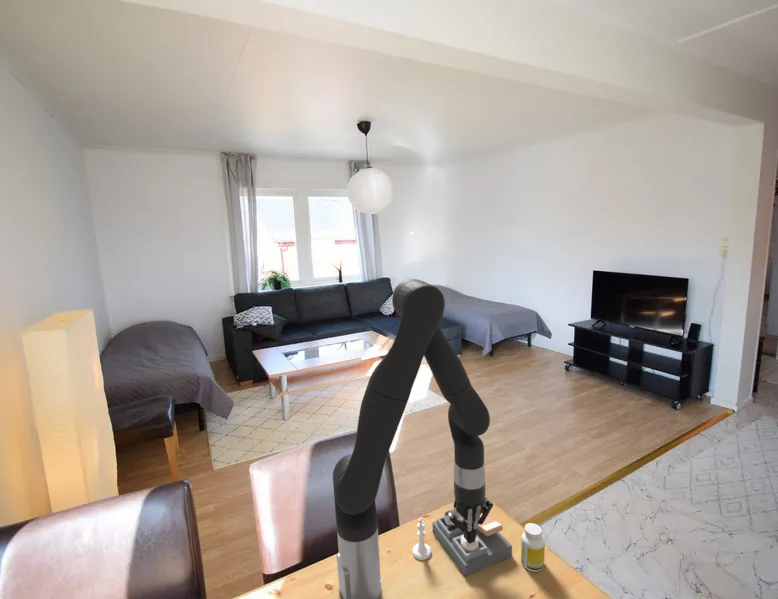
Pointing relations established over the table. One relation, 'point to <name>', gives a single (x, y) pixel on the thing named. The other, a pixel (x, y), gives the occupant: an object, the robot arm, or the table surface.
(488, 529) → the rocker
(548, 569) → the table surface
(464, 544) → the white button
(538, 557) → the supplement bottle
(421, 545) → the chess piece
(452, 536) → the panel
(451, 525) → the metal button
